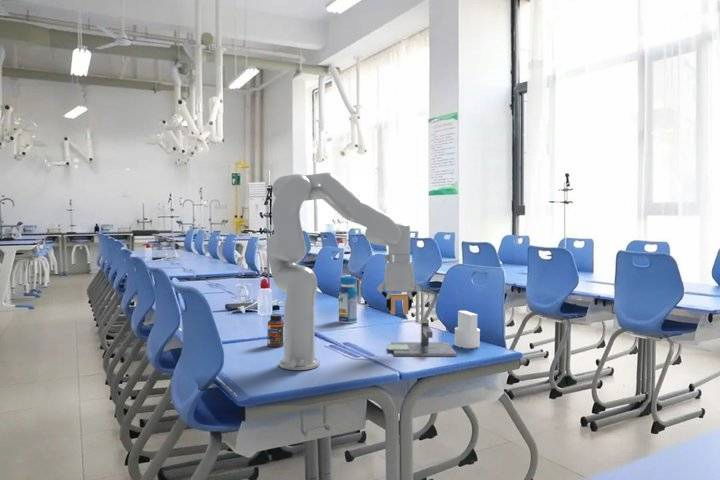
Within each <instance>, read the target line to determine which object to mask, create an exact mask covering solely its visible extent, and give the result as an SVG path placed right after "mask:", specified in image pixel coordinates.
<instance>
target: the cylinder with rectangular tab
mask: <svg viewBox="0 0 720 480" xmlns="http://www.w3.org/2000/svg"><path fill="white" fill-rule="evenodd" d="M480 336H481V329H480V328H478V314H477V313H474V312H470V311H468V310H458V311H457V327H455V328H454V346H455V347H457V346H458V348H461V347H463V349H476V347H477V348H480V346H481V345H480V341H481V340H480V339H481V338H480Z"/></svg>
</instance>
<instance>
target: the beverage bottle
mask: <svg viewBox="0 0 720 480" xmlns="http://www.w3.org/2000/svg"><path fill="white" fill-rule="evenodd" d="M339 281H340V285H341V286H340V288H339V290H338V294H339V296H338V299H337V300H338V322H339V323H342V324H354V323H357V322H358V290H357V288H356V286H355V285H356V284H357V283H356V282H357V279H356V276H349V275H347V276H346V275H345V276H340V280H339Z"/></svg>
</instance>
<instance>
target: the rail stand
mask: <svg viewBox="0 0 720 480" xmlns="http://www.w3.org/2000/svg"><path fill="white" fill-rule="evenodd" d="M429 338H430V339H432V338H433V331H432V329H431V328H430V325H429V321H420V342H417V341H415V342H414V341H413V342H412V341H411V342H409V341H408V342H407V341H405V342H404V341H401V342H398V341H396V342H395V341H394V342H393V341H391V342H390V344H389V343H388V344H387V347H388V350H389V351H392V354H393V356H394V357H457V352H456V351H455V349H454V348H453V346H451V344H450V343H449V342H447V341H446V342H445V341H444V342H438V341H437V342H430V341H429Z"/></svg>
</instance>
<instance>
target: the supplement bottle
mask: <svg viewBox="0 0 720 480" xmlns="http://www.w3.org/2000/svg"><path fill="white" fill-rule="evenodd" d="M266 342H267V346H268V347H271V348H280V347H283V346H284V320H283V319H282V314H280V313H273V314H270V319H269V320H268V321H267V340H266Z"/></svg>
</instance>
